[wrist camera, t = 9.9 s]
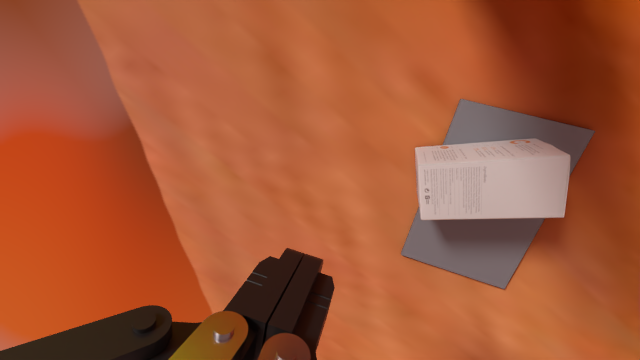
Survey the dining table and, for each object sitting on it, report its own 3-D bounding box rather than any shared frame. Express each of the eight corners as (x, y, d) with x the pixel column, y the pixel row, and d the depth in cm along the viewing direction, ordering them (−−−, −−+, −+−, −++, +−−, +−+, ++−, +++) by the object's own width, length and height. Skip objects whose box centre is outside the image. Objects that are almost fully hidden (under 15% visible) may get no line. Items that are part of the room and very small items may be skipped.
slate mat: (460, 98, 35) (461, 99, 34) (592, 130, 32) (595, 131, 32) (401, 252, 43) (401, 254, 42) (502, 286, 41) (504, 289, 40)
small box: (419, 221, 32) (566, 219, 28) (416, 164, 30) (573, 153, 26) (417, 193, 39) (532, 189, 35) (414, 146, 37) (536, 136, 33)
